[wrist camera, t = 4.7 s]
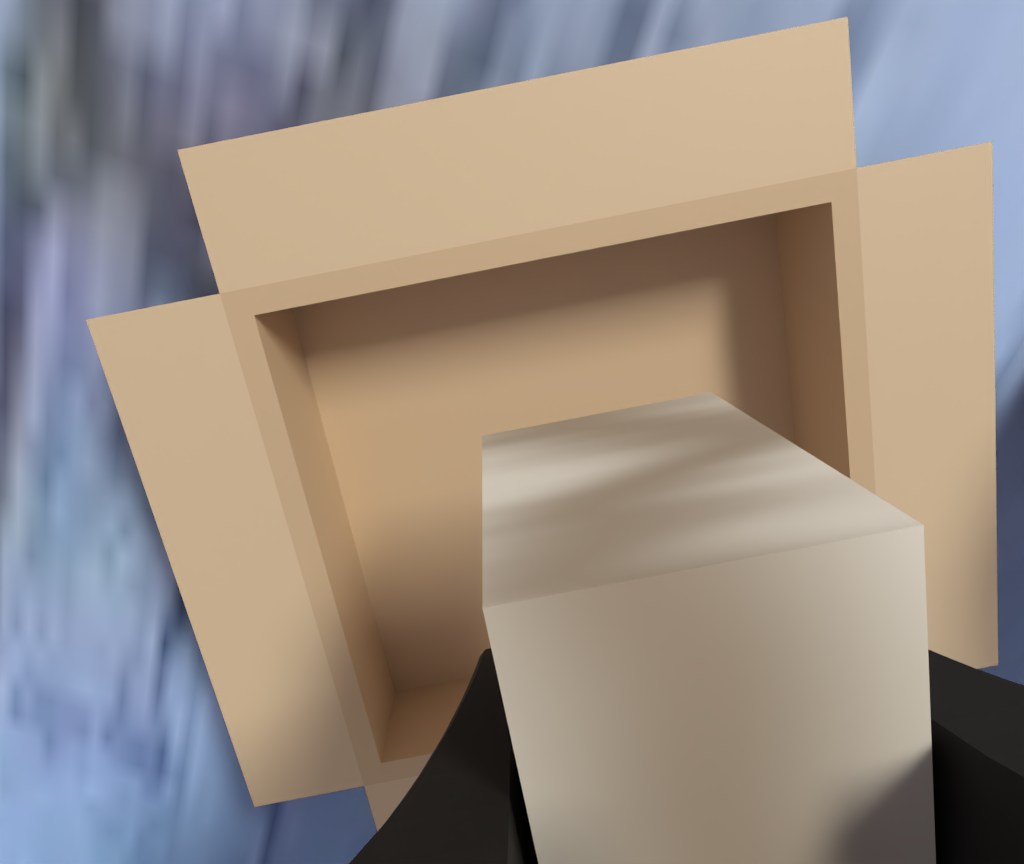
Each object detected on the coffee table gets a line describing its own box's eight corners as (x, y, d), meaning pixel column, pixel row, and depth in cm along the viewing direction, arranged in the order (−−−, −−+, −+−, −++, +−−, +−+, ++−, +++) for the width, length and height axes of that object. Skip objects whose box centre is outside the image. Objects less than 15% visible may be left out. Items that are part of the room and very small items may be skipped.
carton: (894, 37, 18) (990, -12, 15) (922, 683, 23) (999, 758, 19) (120, 191, 18) (37, 177, 15) (313, 799, 23) (284, 894, 20)
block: (711, 392, 12) (924, 524, 6) (755, 776, 14) (946, 1146, 8) (481, 436, 12) (481, 607, 6) (559, 813, 14) (613, 1205, 8)
